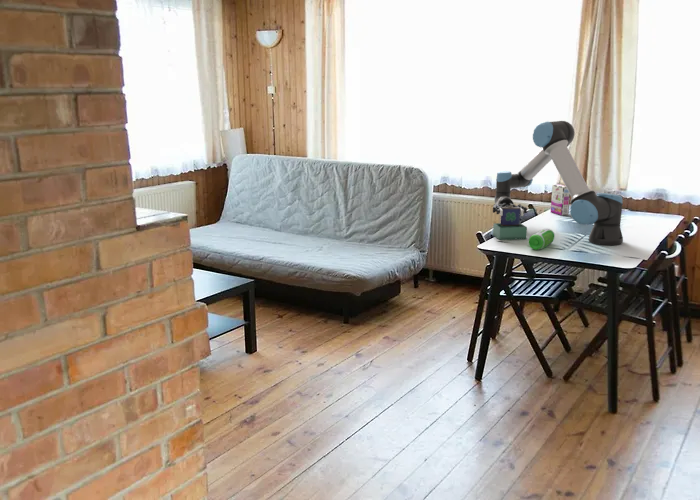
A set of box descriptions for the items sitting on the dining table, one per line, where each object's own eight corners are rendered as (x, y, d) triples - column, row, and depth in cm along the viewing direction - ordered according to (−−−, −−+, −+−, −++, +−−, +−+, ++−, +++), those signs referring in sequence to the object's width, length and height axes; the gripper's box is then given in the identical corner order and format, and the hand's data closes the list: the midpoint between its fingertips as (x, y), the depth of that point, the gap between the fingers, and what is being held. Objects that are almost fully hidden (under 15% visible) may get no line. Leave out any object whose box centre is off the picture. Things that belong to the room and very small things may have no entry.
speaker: (542, 252, 296) (543, 235, 294) (526, 249, 300) (527, 233, 298) (555, 244, 310) (556, 228, 308) (539, 242, 314) (540, 226, 312)
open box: (526, 239, 320) (527, 227, 318) (499, 240, 318) (500, 227, 317) (519, 234, 330) (519, 222, 328) (492, 235, 328) (493, 223, 327)
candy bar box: (569, 215, 375) (571, 186, 371) (561, 215, 373) (563, 187, 369) (557, 211, 385) (559, 183, 381) (550, 212, 384) (552, 184, 380)
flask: (518, 224, 324) (520, 203, 321) (520, 226, 321) (521, 204, 318) (499, 224, 324) (501, 203, 321) (501, 226, 321) (502, 204, 319)
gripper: (526, 211, 338) (534, 221, 316) (483, 211, 340) (488, 220, 318) (527, 197, 336) (535, 205, 315) (484, 197, 338) (489, 205, 316)
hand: (512, 213), depth 316 cm, fingers closed on flask, 9 cm apart
